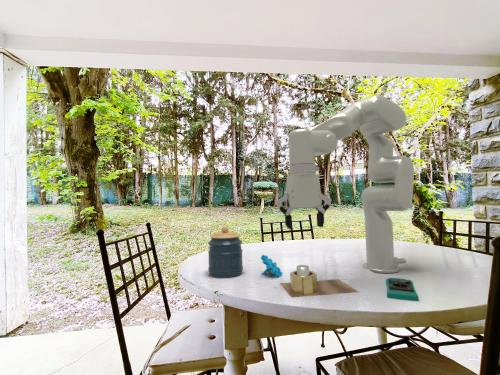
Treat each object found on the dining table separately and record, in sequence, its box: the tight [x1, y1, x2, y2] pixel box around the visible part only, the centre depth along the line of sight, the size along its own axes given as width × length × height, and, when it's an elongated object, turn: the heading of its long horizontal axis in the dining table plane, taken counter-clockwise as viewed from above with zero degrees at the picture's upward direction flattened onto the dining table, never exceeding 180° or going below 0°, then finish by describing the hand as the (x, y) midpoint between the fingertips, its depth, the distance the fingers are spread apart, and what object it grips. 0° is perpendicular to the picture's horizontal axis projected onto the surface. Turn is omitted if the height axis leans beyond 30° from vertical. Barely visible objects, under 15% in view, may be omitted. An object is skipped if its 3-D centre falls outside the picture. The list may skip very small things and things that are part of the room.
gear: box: [260, 254, 283, 278], centre depth 101 cm, size 11×6×10 cm
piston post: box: [296, 264, 310, 276], centre depth 83 cm, size 4×4×7 cm
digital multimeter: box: [385, 277, 419, 302], centre depth 80 cm, size 7×15×3 cm, turn 155°
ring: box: [289, 270, 318, 295], centre depth 83 cm, size 7×7×5 cm
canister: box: [207, 225, 244, 279], centre depth 106 cm, size 13×13×18 cm
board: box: [279, 278, 360, 298], centre depth 85 cm, size 20×13×1 cm, turn 99°
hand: (305, 227), depth 85 cm, fingers open, 9 cm apart
